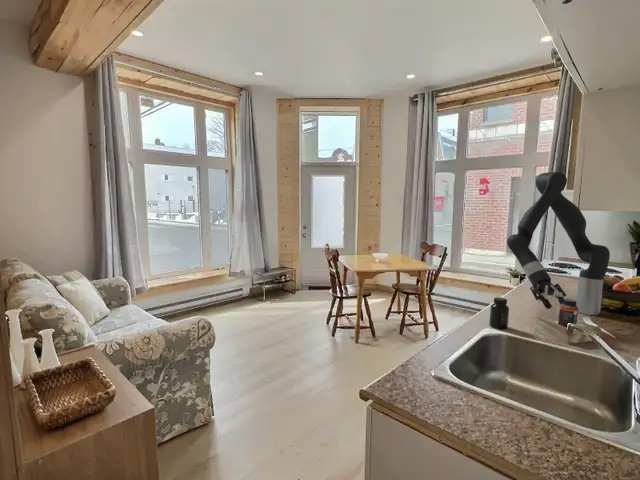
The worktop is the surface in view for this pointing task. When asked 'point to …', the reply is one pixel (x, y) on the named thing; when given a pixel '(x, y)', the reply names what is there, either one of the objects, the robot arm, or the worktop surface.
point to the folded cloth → (563, 331)
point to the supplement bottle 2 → (568, 313)
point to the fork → (595, 325)
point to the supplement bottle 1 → (499, 313)
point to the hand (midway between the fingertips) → (557, 307)
